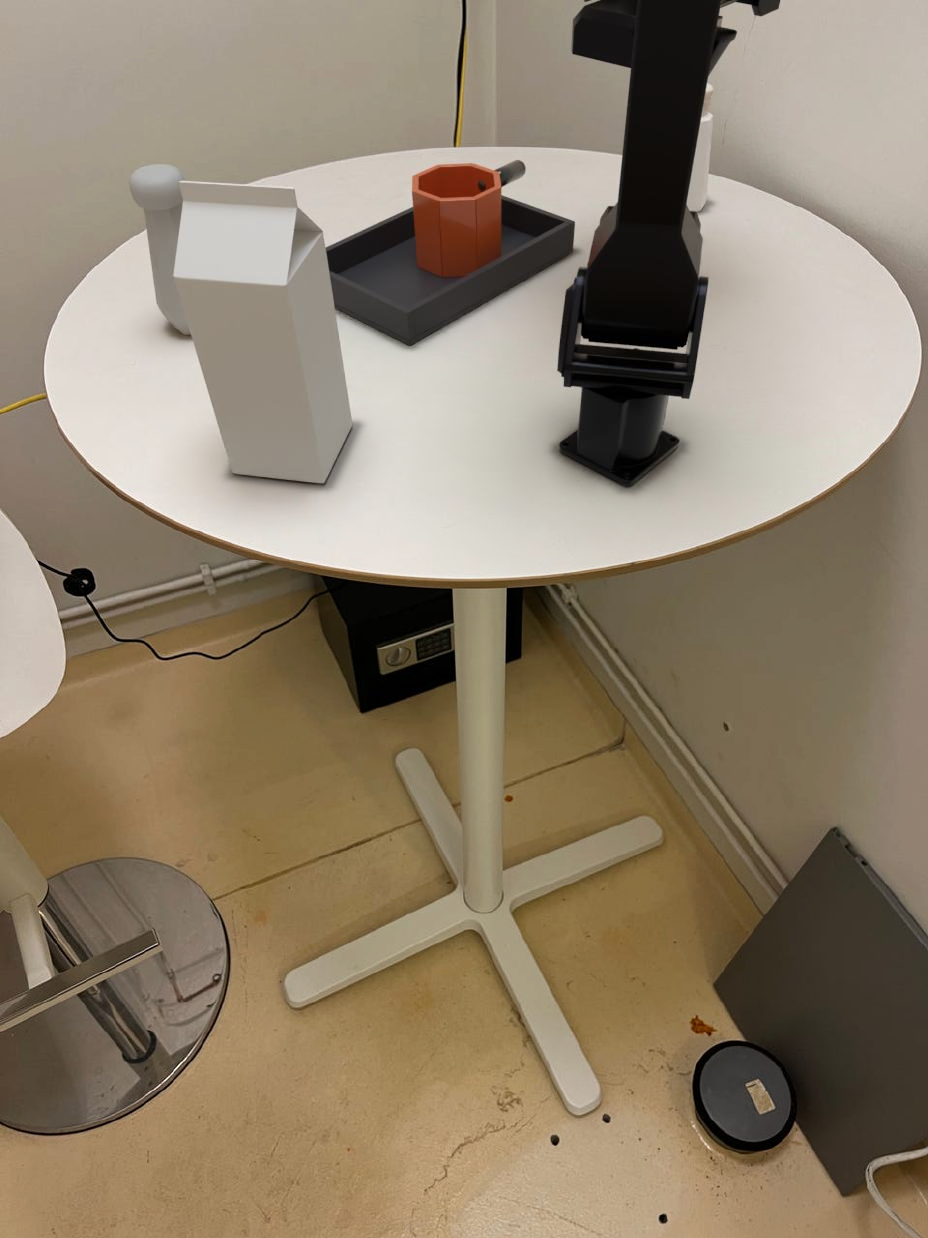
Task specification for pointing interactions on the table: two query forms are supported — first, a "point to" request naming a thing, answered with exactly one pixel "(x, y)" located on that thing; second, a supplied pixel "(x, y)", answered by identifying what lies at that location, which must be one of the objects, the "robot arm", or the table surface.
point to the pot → (459, 216)
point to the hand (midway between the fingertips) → (664, 137)
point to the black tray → (424, 302)
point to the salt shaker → (162, 233)
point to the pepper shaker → (701, 158)
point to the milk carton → (263, 328)
